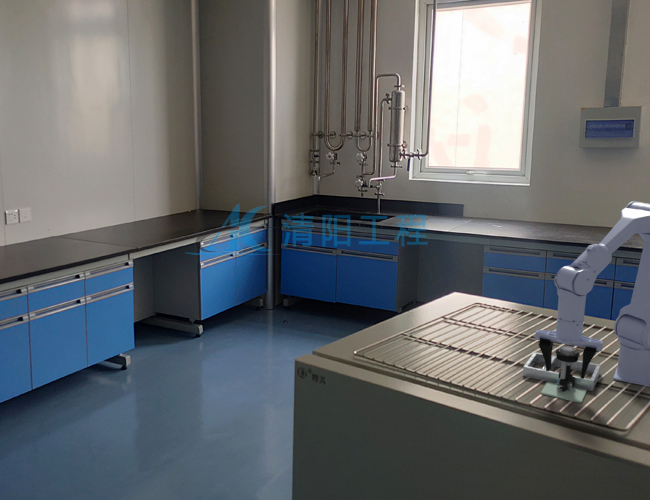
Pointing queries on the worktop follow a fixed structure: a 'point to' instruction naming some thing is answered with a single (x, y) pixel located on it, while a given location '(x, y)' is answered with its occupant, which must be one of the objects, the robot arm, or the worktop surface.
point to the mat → (564, 393)
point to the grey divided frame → (554, 376)
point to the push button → (566, 367)
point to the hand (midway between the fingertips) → (565, 373)
